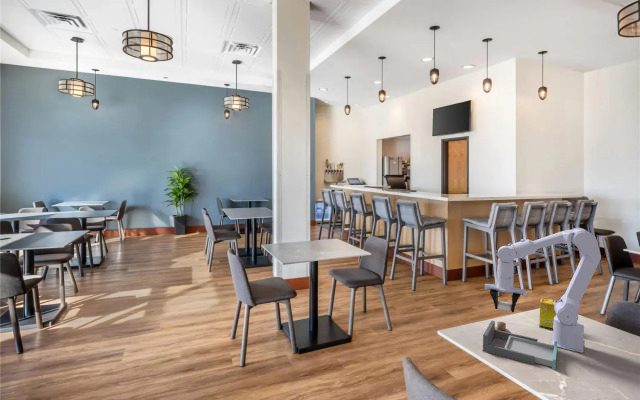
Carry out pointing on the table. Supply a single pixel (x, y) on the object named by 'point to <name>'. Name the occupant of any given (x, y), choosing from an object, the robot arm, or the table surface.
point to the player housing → (515, 355)
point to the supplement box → (547, 313)
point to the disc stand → (501, 327)
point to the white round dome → (504, 306)
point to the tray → (534, 350)
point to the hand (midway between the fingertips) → (504, 309)
